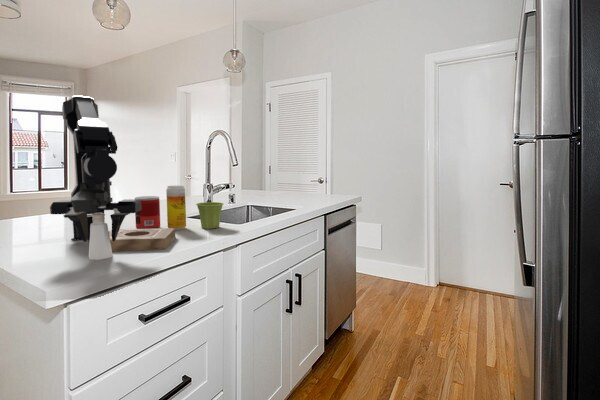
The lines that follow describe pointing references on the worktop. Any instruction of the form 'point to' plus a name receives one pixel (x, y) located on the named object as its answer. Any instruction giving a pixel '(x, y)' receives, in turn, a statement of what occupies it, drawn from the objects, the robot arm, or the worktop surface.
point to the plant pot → (210, 214)
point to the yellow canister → (176, 207)
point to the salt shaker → (99, 238)
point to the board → (142, 239)
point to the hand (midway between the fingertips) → (99, 241)
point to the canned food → (148, 213)
